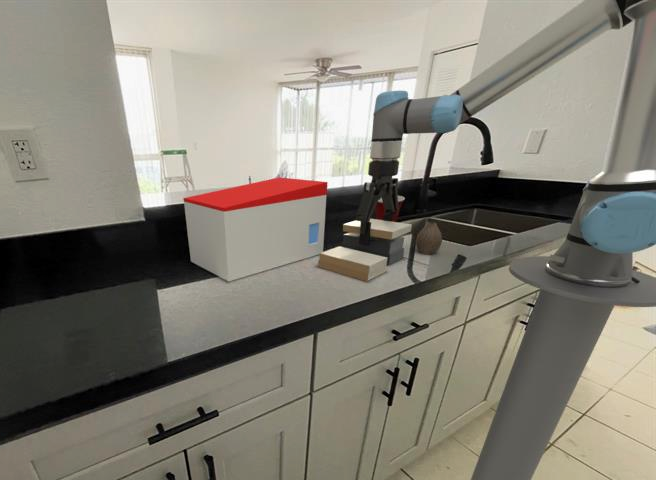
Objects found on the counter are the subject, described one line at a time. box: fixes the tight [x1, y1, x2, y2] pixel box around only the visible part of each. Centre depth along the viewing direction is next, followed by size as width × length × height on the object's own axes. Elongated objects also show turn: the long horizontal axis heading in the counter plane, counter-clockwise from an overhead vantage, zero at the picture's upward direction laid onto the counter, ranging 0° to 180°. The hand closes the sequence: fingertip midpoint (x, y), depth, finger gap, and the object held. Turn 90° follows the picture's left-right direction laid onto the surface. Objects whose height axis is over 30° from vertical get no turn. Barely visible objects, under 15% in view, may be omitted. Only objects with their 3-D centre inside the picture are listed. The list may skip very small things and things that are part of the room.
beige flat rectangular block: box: [342, 218, 413, 240], centre depth 96 cm, size 15×11×2 cm
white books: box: [317, 245, 388, 282], centre depth 89 cm, size 15×9×4 cm, turn 42°
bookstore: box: [183, 176, 328, 282], centre depth 97 cm, size 21×35×21 cm, turn 127°
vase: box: [415, 222, 443, 255], centre depth 99 cm, size 7×7×9 cm
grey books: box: [342, 232, 405, 266], centre depth 98 cm, size 15×9×6 cm, turn 42°
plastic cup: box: [375, 195, 406, 222], centre depth 125 cm, size 11×11×12 cm
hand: (375, 240), depth 98 cm, fingers closed on beige flat rectangular block, 11 cm apart
